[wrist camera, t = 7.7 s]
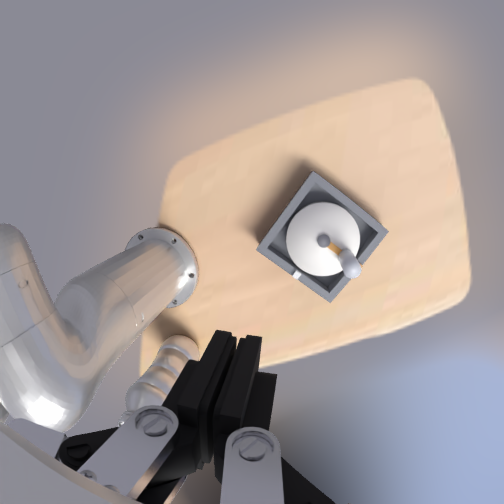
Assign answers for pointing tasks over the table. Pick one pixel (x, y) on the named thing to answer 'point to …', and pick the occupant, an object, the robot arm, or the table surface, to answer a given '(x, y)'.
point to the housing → (276, 236)
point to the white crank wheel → (324, 240)
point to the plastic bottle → (160, 374)
